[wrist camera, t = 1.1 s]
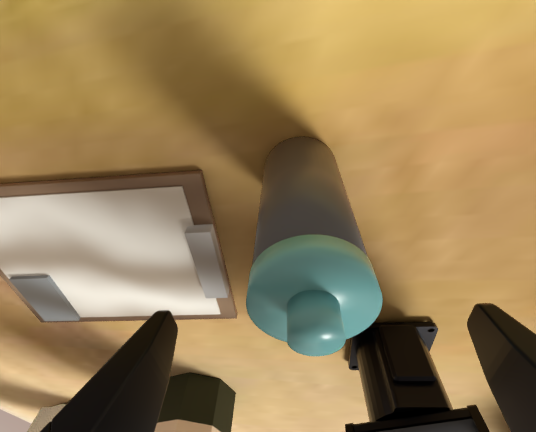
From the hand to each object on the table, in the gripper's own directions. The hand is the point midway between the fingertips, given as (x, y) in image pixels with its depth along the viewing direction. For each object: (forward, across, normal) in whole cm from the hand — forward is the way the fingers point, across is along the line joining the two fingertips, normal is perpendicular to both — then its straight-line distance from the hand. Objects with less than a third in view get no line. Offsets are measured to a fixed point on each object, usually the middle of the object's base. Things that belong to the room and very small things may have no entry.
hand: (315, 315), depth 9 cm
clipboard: (+9, +14, +6) cm, 18 cm away
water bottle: (+9, 0, 0) cm, 9 cm away
